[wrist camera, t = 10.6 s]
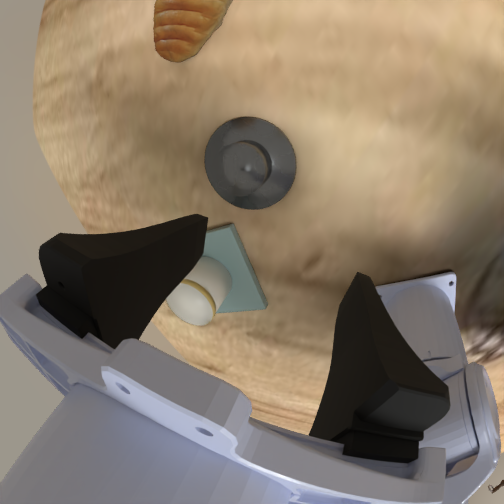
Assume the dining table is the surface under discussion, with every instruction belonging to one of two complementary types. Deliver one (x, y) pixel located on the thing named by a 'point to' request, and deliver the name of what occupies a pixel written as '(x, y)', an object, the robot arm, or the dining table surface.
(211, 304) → the can
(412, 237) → the dining table surface
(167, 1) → the pastry
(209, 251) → the coaster
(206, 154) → the grey round lid
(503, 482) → the coffee pot
